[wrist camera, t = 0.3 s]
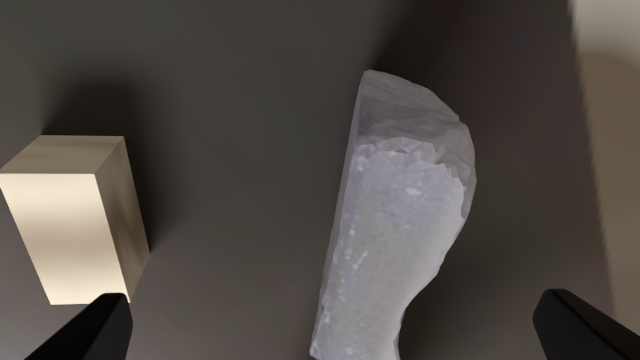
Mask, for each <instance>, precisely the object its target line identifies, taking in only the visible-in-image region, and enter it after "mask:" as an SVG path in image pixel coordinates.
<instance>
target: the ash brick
mask: <svg viewBox="0 0 640 360" xmlns="http://www.w3.org/2000/svg"><path fill="white" fill-rule="evenodd" d="M0 187H1V190H2V192H3V194H4V197H5V199H6V201H7V204H8V206H9V208H10V211H11V213H12V215H13V217H14V220H15V222H16V224H17V227H18V229H19V231H20V234H21V236H22V238H23V241H24V243H25V245H26V248H27V250H28V252H29V255H30V257H31V259H32V262H33V264H34V266H35V269H36V271H37V273H38V276H39V278H40V280H41V283H42V285H43V287H44V290H45V292H46V294H47V297H48V299H49V301H50V304H51V305H53V304H89V303H91V302H92V301H94V300H95V299H96V298H97V297H98V296H100V295H101V294H103V293H124V294H125V295H126V297H127V299H128V302H130V301H131V299H132V297H133V294H134V292H135V289H136V287H137V284H138V282H139V279H140V277H141V275H142V272H143V270H144V267H145V265H146V262H147V260H148V257H149V255H150V252H149V248H148V243H147V239H146V234H145V230H144V225H143V221H142V216H141V212H140V207H139V203H138V198H137V194H136V189H135V185H134V180H133V176H132V172H131V167H130V163H129V158H128V154H127V149H126V145H125V140H124V136H66V135H40V136H39V137H38V138H37V139H36V140H34V141H33V142H32V143H31V144H30V145H28V146H27V147H26V148H25V149H24V150H22V151H21V152H20V153H19V154H18V155H16V156H15V157H14V158H13V159H12V160H10V161H9V162H8V163H7V164H6V165H4V166H3V167H2V168H1V169H0Z"/></svg>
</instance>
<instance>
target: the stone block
mask: <svg viewBox="0 0 640 360" xmlns="http://www.w3.org/2000/svg"><path fill="white" fill-rule="evenodd" d="M474 163H475V153H474V147H473V143H472V140H471V136H470V133H469V129H468V128H467V126H466V125H465V124H463V123H462V122H460V121H459V116H458V115H457V114H455V113H454V112H453V111H452V110H451V108H449V107H448V106H447V105H446V104H445V103H444V102H442V101H441V100H440V99H439V98H438V97H437V96H436V94H434V93H433V92H432V91H430V90H429V89H428V88H425V87H423V86H420V85H418V84H414V83H411V82H410V81H408V80H405V79H403V78H401V77H398V76H395V75H391V74H388V73H385V72H378V71H374V70H368V71H364V73H363V77H362V79H361V84H360V86H359V90H358V95H357V99H356V104H355V108H354V114H353V119H352V124H351V130H350V136H349V141H348V147H347V152H346V154H345V163H344V168H343V173H342V178H341V184H340V190H339V195H338V200H337V206H336V212H335V217H334V223H333V227H332V232H331V237H330V242H329V247H328V249H327V256H326V261H325V265H324V269H323V277H322V284H321V289H320V297H319V305H318V311H317V316H316V321H315V327H314V331H313V334H312V341H311V347H310V355H311V356H312V357H314V358H315V359H317V360H400V356H399V349H398V340H399V331H400V328H401V323H402V320H403V316H404V313H405V309H406V307H407V306H408V305H409V303H410V302H411V301H412V299H413V298H414V297H415V296H416V295H417V294H418V293H419V291H421V290H422V289H423V288H424V287H425V286H427V284H428V283H429V282H430V281H431V280H432V279H433V278H434V277H435V276H436V275H437V273H438V271H439V268H440V266H441V264H442V263H443V261H444V257H445V254H446V253H447V251H448V250H449V248H450V247H451V246H452V244H453V243H454V241H455V239H456V238H457V236H458V234H459V233H460V231H461V229H462V227H463V225H464V223H465V221H466V219H467V217H468V214H469V211H470V207H471V203H472V199H473V195H474V191H475V186H476V182H477V179H476V173H475V167H474Z"/></svg>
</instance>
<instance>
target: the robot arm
mask: <svg viewBox="0 0 640 360" xmlns="http://www.w3.org/2000/svg"><path fill="white" fill-rule="evenodd" d="M533 324H534V327H535V330H536V332H537V335H538V338H539V340H540V343H541V345H542V348H543V350H544V353H545V356H546V358H547V360H640V336H639V335H637V334H636V333H634V332H632V331H631V330H629V329H628V328H626V327H625V326H623V325H622V324H620V323H618V322H617V321H615V320H614V319H612V318H611V317H609V316H607V315H606V314H604V313H603V312H601V311H600V310H598V309H597V308H595V307H593V306H592V305H590V304H589V303H587V302H586V301H584V300H582V299H581V298H579V297H578V296H576V295H575V294H573V293H571V292H570V291H568V290H566V289H547V290H545V291H544V293H543V294H542V296H541V298H540V300H539V302H538V304H537V306H536V308H535V310H534V312H533ZM132 328H133V320H132V316H131V312H130V308H129V304H128V299H127V297H126V295H125V294H124V293H103V294H101V295H100V296H98V297H97V298H96V299H95V300H94V301H92V302H91V303H90V304H89V305H88V306H86V307H85V308H84V309H83V310H82V311H81V312H79V313H78V314H77V315H76V316H75V317H74V318H72V319H71V320H70V321H69V322H68V323H66V324H65V325H64V326H63V327H62V328H61V329H59V330H58V331H57V332H56V333H55V334H54V335H52V336H51V337H50V338H49V339H48V340H46V341H45V342H44V343H43V344H42V345H41V346H39V347H38V348H37V349H36V350H35V351H34V352H32V353H31V354H30V355H29V356H28V357H26V358H25V359H24V360H125V358H126V354H127V350H128V346H129V342H130V338H131V334H132Z"/></svg>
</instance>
